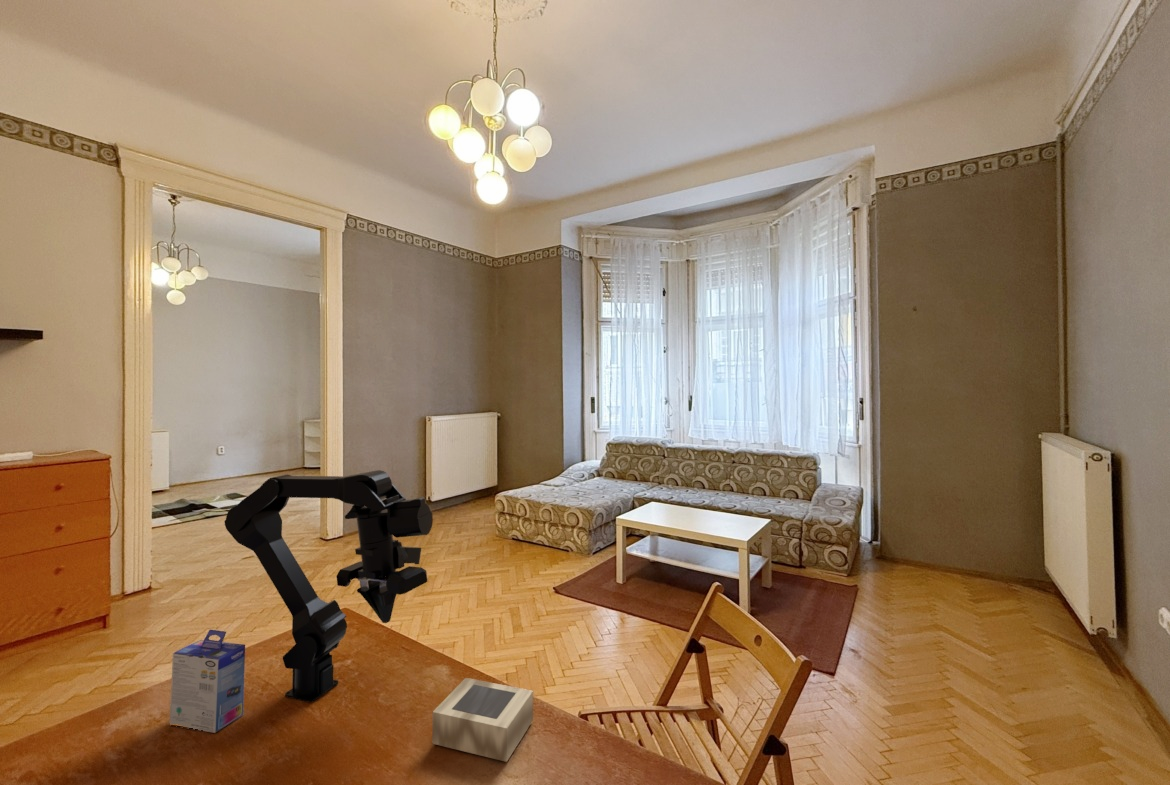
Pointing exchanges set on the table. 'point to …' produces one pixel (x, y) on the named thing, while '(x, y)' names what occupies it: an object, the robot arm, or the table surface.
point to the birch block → (483, 718)
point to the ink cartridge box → (207, 684)
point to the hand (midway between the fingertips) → (386, 622)
